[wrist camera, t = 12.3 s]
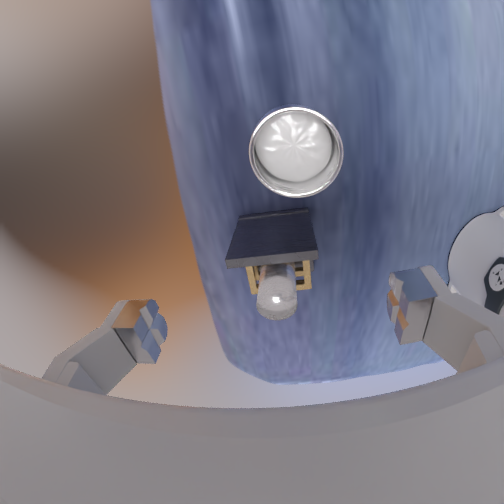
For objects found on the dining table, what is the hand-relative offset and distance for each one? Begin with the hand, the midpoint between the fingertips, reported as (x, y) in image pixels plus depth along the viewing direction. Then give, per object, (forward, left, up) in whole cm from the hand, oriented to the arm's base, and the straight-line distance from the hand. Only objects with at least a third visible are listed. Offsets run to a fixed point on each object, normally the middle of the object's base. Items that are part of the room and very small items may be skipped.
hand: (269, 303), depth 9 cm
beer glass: (0, -3, -27) cm, 27 cm away
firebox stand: (-5, +11, -27) cm, 30 cm away
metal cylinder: (-5, +11, -26) cm, 29 cm away
